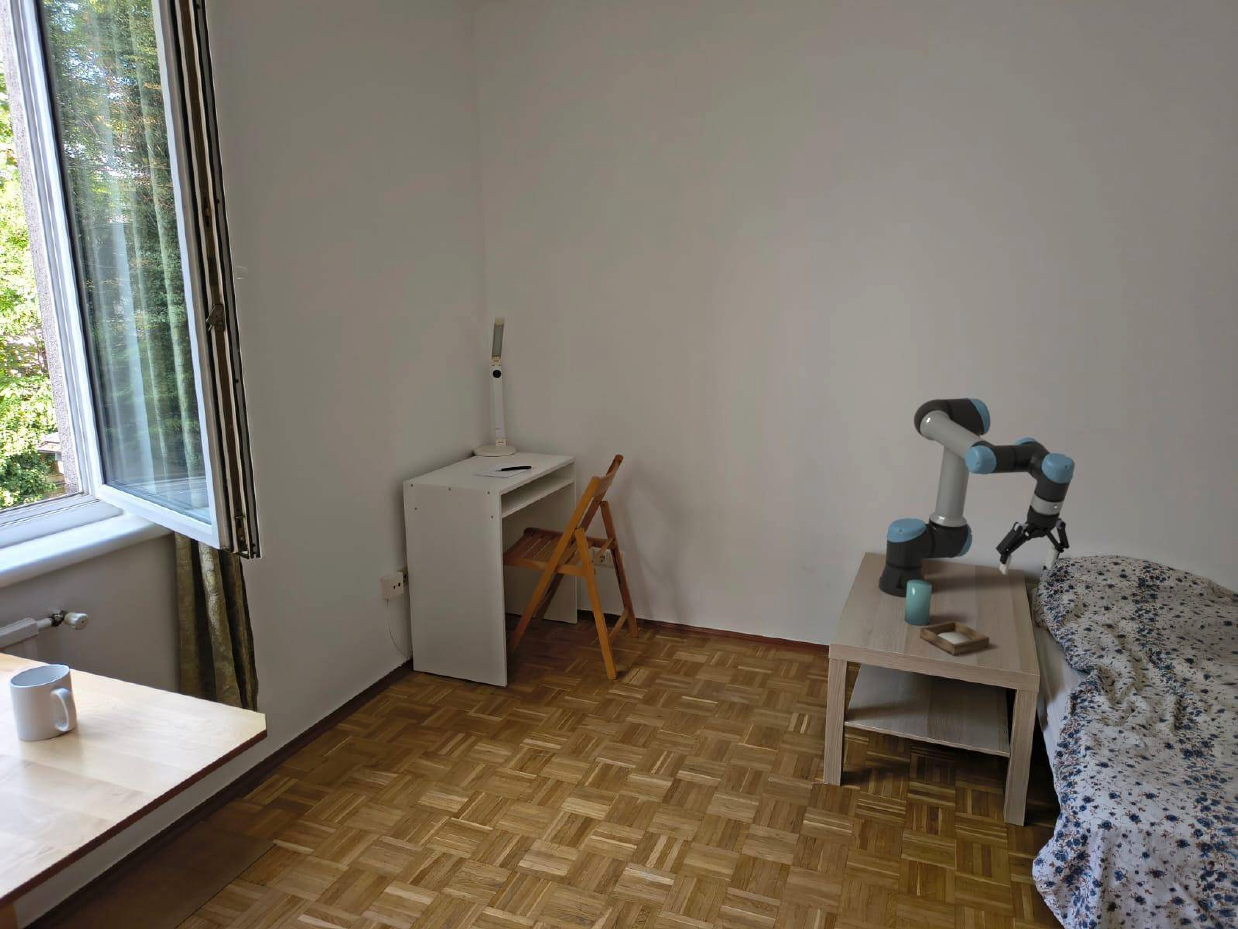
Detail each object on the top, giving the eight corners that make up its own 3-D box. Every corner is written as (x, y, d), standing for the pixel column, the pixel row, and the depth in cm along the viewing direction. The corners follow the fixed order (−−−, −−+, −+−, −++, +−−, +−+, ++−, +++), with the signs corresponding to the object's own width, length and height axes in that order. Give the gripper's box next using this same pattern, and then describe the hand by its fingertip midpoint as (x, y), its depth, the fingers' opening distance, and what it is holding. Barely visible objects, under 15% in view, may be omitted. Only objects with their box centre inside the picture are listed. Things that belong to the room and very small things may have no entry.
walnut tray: (919, 637, 247) (920, 628, 247) (953, 629, 252) (954, 620, 252) (953, 656, 236) (954, 646, 235) (988, 647, 241) (989, 637, 240)
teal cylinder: (899, 618, 260) (902, 582, 258) (917, 614, 263) (920, 578, 260) (915, 627, 254) (918, 590, 251) (933, 623, 257) (937, 586, 254)
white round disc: (930, 637, 246) (930, 636, 246) (953, 631, 250) (954, 630, 250) (953, 650, 238) (953, 648, 238) (977, 644, 242) (977, 642, 242)
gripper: (1008, 519, 223) (990, 582, 235) (1097, 512, 226) (1074, 574, 237) (994, 503, 230) (977, 565, 241) (1080, 496, 232) (1059, 557, 243)
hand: (1025, 569), depth 239 cm, fingers open, 13 cm apart
